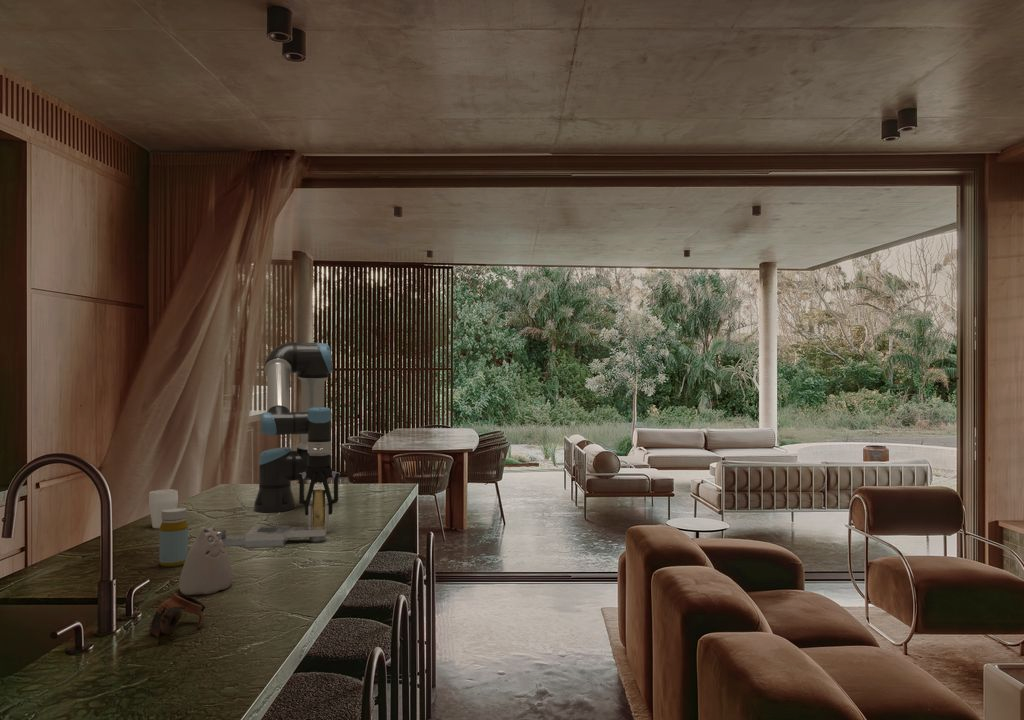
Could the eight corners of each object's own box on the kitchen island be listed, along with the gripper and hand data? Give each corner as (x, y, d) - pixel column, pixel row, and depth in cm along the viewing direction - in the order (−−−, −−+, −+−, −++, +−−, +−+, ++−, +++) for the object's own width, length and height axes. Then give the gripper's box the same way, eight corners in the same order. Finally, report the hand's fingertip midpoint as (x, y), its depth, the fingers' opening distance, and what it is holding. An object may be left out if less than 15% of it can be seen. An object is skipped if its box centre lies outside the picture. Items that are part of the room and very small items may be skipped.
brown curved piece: (152, 626, 145) (173, 588, 148) (193, 644, 146) (214, 607, 149) (135, 632, 134) (159, 591, 137) (180, 652, 135) (203, 611, 138)
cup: (183, 523, 240) (183, 489, 240) (167, 529, 231) (168, 494, 231) (159, 523, 241) (159, 489, 241) (142, 529, 232) (143, 493, 232)
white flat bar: (213, 540, 217) (213, 527, 217) (327, 536, 222) (327, 524, 222) (203, 549, 206) (203, 535, 206) (323, 545, 211) (323, 531, 211)
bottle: (193, 561, 192) (193, 508, 193) (173, 568, 186) (173, 513, 186) (173, 559, 195) (174, 506, 195) (153, 566, 188) (154, 511, 188)
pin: (313, 531, 229) (313, 489, 229) (325, 531, 229) (325, 489, 229) (311, 534, 225) (311, 491, 225) (324, 534, 225) (324, 491, 226)
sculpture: (227, 594, 165) (227, 531, 165) (173, 598, 162) (174, 534, 162) (236, 578, 177) (236, 520, 177) (186, 581, 175) (187, 522, 175)
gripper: (289, 456, 222) (288, 528, 222) (345, 455, 225) (345, 526, 225) (293, 453, 230) (292, 522, 229) (348, 452, 232) (347, 521, 232)
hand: (318, 524), depth 227 cm, fingers open, 5 cm apart
